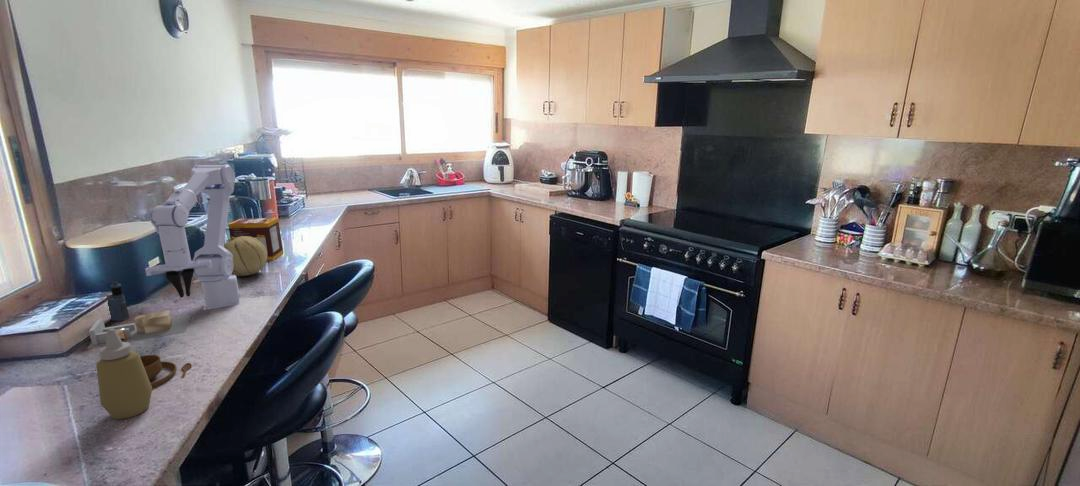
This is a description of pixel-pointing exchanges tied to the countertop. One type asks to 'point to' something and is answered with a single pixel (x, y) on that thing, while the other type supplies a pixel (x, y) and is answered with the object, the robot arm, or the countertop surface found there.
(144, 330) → the peg
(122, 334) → the plunger
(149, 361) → the place setting
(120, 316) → the vaping device
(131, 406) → the squeeze bottle
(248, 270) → the cantaloupe
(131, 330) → the socket board
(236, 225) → the supplement box
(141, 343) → the countertop surface
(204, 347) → the countertop surface
